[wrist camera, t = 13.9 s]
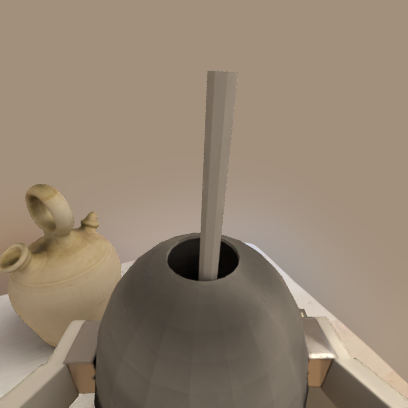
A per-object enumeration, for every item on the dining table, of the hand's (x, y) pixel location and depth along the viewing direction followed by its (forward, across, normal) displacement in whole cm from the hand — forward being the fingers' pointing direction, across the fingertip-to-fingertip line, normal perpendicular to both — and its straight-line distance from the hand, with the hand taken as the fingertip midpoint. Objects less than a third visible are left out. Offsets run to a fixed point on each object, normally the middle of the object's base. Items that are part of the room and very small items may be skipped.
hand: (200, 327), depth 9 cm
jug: (+22, +21, +27) cm, 41 cm away
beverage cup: (-1, 0, +11) cm, 11 cm away
